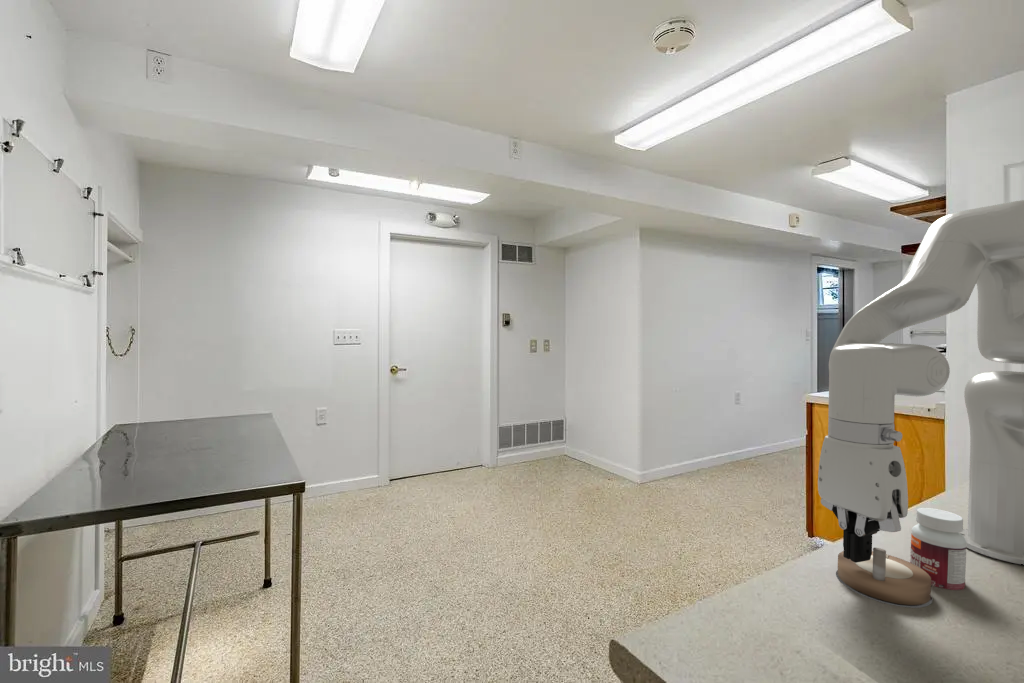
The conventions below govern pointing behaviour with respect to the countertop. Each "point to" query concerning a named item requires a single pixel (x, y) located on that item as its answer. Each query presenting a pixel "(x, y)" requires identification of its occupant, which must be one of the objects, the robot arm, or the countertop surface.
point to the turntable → (886, 578)
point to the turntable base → (883, 600)
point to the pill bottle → (939, 547)
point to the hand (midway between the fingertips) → (857, 558)
